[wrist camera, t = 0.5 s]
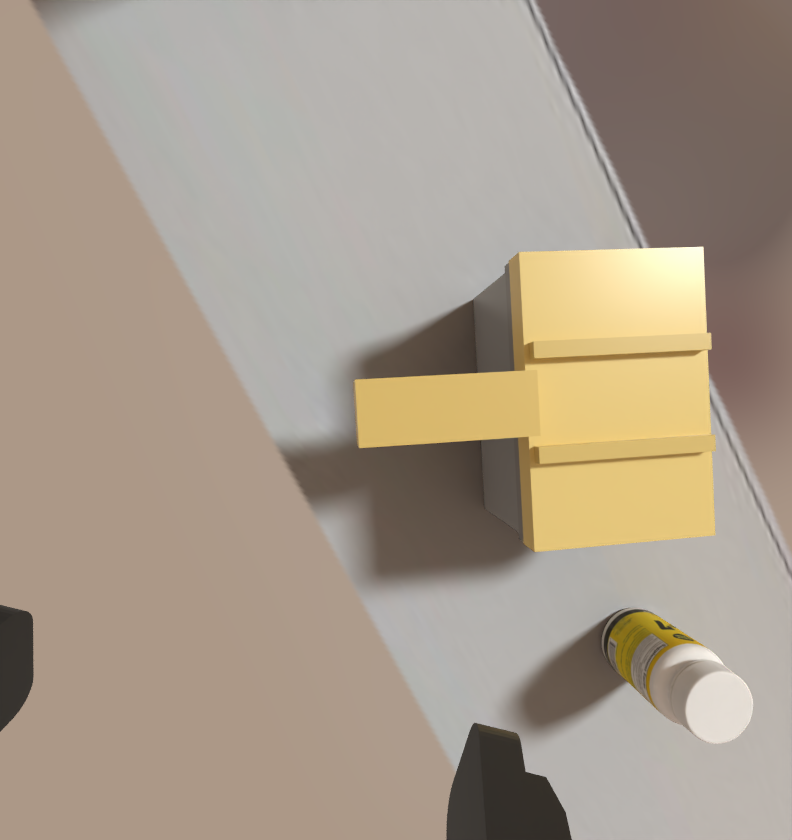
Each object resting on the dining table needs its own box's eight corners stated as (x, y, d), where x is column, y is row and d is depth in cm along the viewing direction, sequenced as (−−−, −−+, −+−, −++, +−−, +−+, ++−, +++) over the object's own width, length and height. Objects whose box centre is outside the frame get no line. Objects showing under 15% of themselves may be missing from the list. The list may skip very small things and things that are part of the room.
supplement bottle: (676, 631, 36) (777, 699, 28) (636, 685, 36) (726, 770, 27) (626, 591, 36) (714, 648, 27) (585, 646, 35) (661, 719, 27)
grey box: (469, 296, 34) (509, 261, 26) (604, 291, 35) (682, 256, 27) (481, 511, 34) (524, 542, 26) (614, 500, 35) (694, 527, 27)
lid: (345, 265, 25) (346, 246, 22) (683, 255, 27) (725, 237, 24) (363, 558, 25) (366, 578, 23) (694, 528, 27) (738, 542, 24)
